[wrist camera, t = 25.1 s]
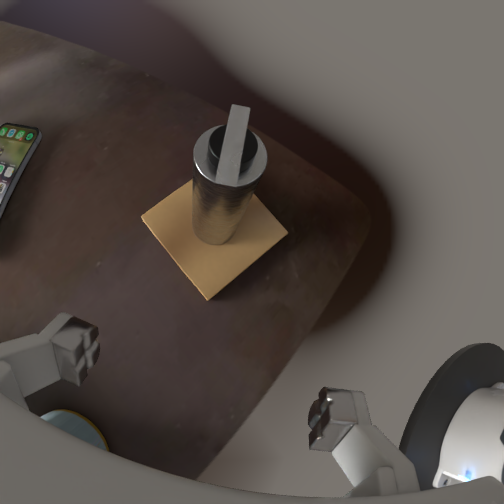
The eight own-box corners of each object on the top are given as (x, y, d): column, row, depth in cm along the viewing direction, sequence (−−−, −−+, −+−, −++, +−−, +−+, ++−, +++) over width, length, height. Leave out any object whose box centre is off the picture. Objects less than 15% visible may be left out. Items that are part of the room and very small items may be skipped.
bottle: (81, 396, 20) (-22, 455, 6) (127, 463, 19) (78, 572, 5) (29, 420, 18) (-73, 472, 4) (71, 483, 18) (5, 571, 3)
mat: (286, 234, 27) (288, 232, 26) (207, 301, 24) (208, 300, 24) (221, 162, 28) (222, 158, 27) (141, 218, 25) (140, 216, 24)
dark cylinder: (232, 255, 25) (267, 193, 14) (186, 246, 24) (183, 177, 13) (240, 201, 26) (277, 113, 15) (197, 193, 26) (205, 99, 14)
